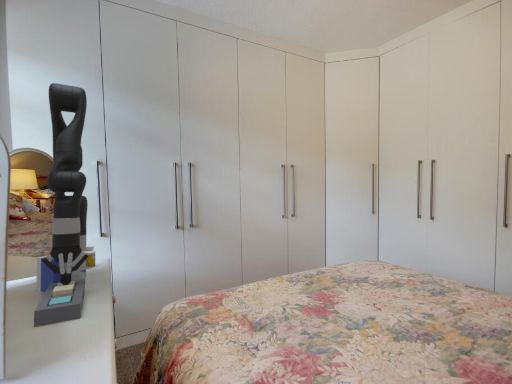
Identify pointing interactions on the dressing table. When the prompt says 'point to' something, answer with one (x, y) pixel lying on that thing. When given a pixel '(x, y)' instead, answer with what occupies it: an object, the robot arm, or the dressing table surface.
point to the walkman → (46, 275)
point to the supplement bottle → (90, 256)
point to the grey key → (68, 284)
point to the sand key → (63, 290)
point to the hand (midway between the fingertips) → (65, 284)
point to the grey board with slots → (59, 306)
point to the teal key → (60, 300)
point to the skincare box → (79, 270)
